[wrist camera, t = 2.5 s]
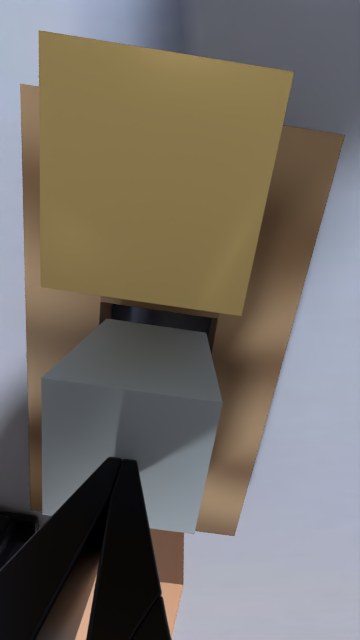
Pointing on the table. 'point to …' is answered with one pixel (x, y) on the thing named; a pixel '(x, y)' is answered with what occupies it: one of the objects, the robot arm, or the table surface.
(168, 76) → the olive yellow block
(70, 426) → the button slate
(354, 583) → the table surface
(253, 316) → the wooden slotted tray
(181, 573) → the orange brown block
